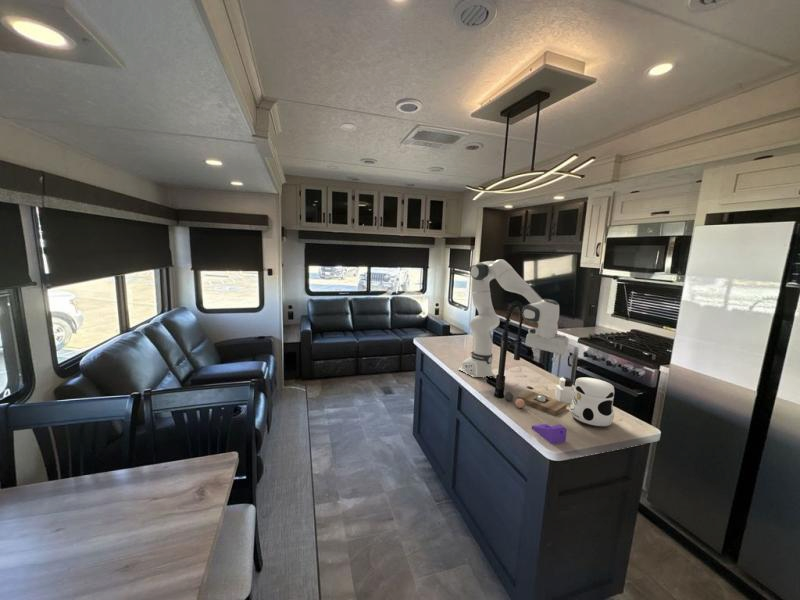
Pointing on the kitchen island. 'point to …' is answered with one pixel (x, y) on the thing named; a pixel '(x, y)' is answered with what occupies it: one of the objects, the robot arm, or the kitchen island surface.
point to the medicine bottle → (564, 390)
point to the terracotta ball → (520, 403)
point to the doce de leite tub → (593, 402)
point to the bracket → (551, 432)
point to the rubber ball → (508, 396)
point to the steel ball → (541, 399)
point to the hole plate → (549, 406)
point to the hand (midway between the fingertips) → (544, 358)
